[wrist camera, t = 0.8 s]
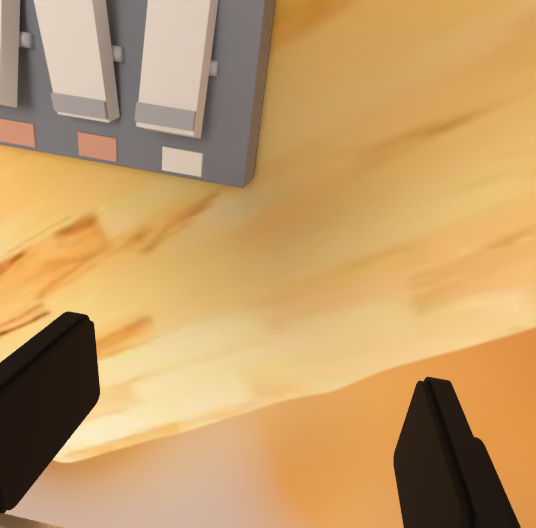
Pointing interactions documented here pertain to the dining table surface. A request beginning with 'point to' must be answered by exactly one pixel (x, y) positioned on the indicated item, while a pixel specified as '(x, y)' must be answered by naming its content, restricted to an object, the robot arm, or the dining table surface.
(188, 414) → the dining table surface
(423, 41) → the dining table surface
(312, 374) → the dining table surface
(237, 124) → the switch unit
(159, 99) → the rocker
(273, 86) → the dining table surface
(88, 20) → the rocker
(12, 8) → the rocker
